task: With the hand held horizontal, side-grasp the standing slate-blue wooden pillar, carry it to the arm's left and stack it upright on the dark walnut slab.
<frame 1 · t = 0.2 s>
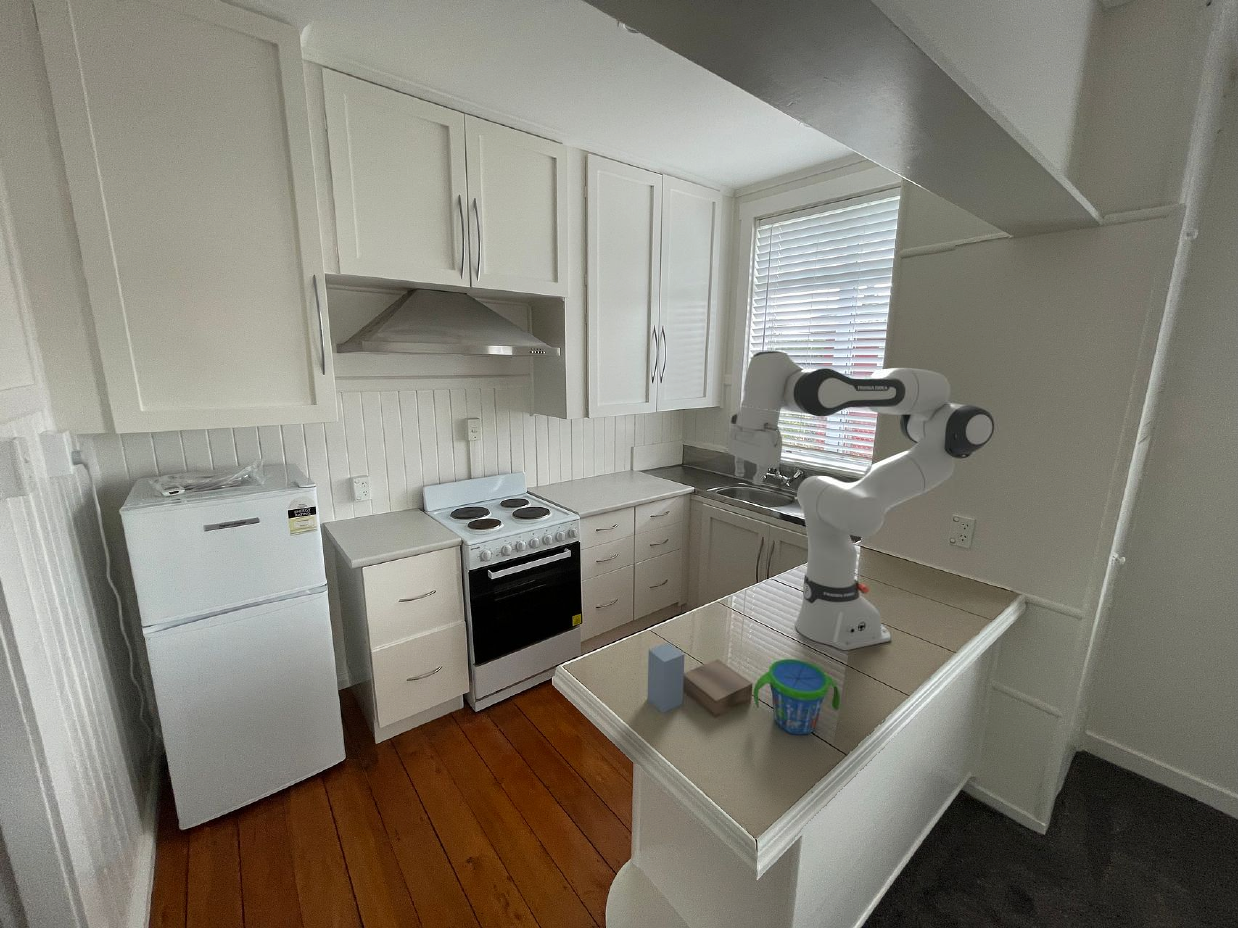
hand: (747, 480, 118), 40 cm above the counter, tool pointing down, fingers open, 8 cm apart
snack cup: (794, 723, 96), on the counter
walnut base: (715, 695, 104), on the counter
pillar: (664, 701, 101), on the counter
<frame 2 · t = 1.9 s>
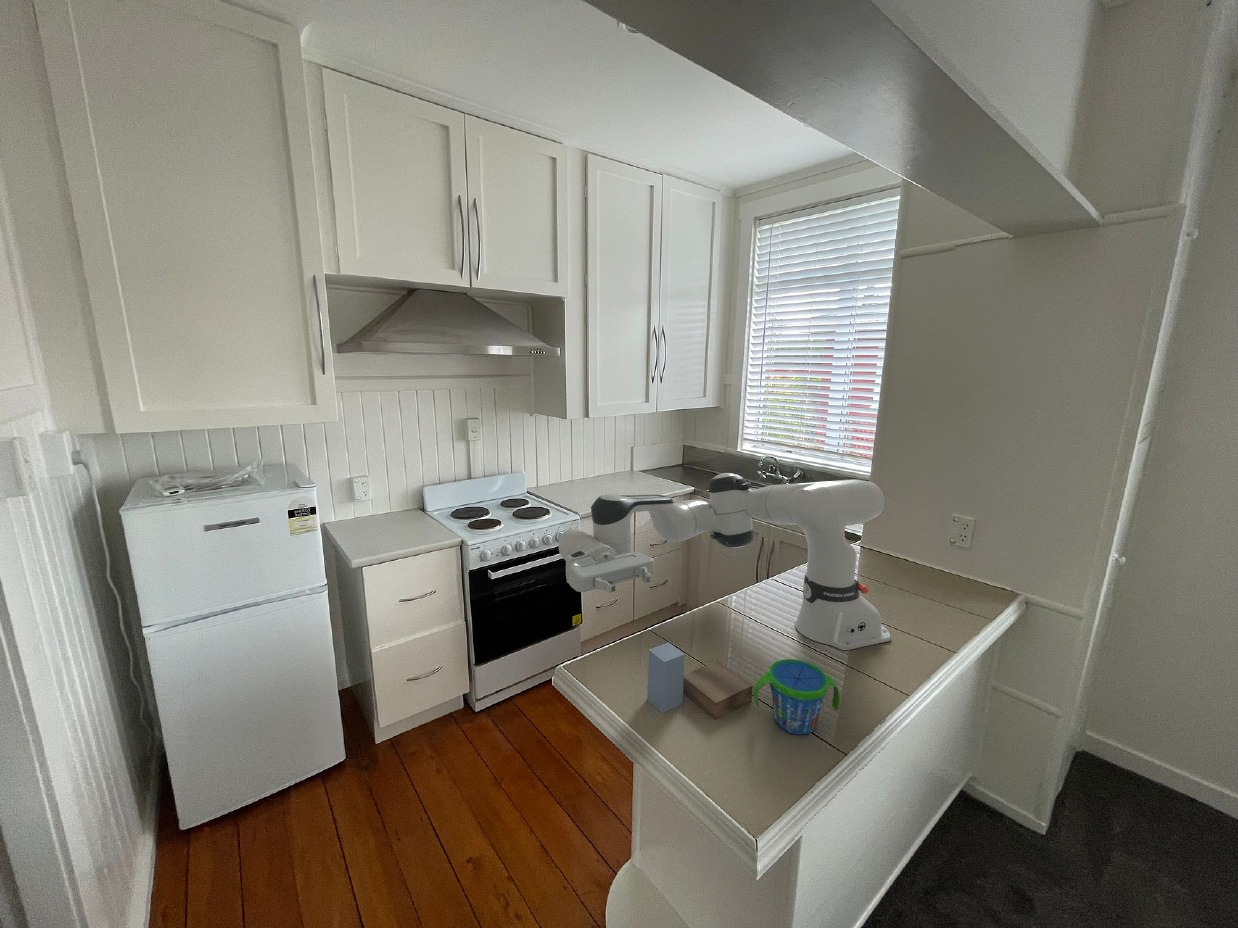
hand: (631, 583, 108), 20 cm above the counter, tool horizontal, fingers open, 8 cm apart
nothing on the counter moved.
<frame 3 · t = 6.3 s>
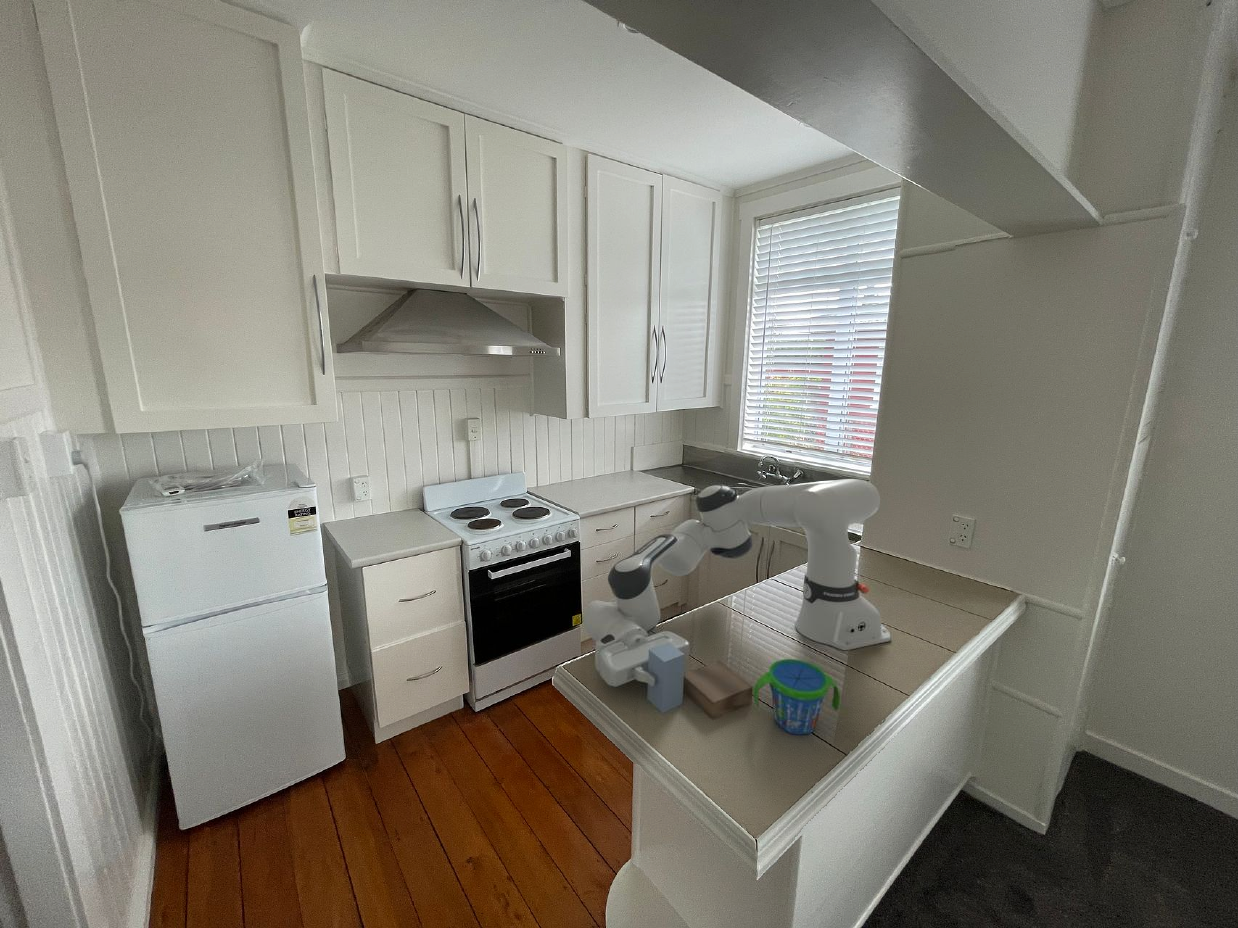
hand: (668, 676, 99), 6 cm above the counter, tool horizontal, fingers closed on pillar, 5 cm apart
pillar: (664, 701, 101), on the counter, touching gripper
everything else where it was.
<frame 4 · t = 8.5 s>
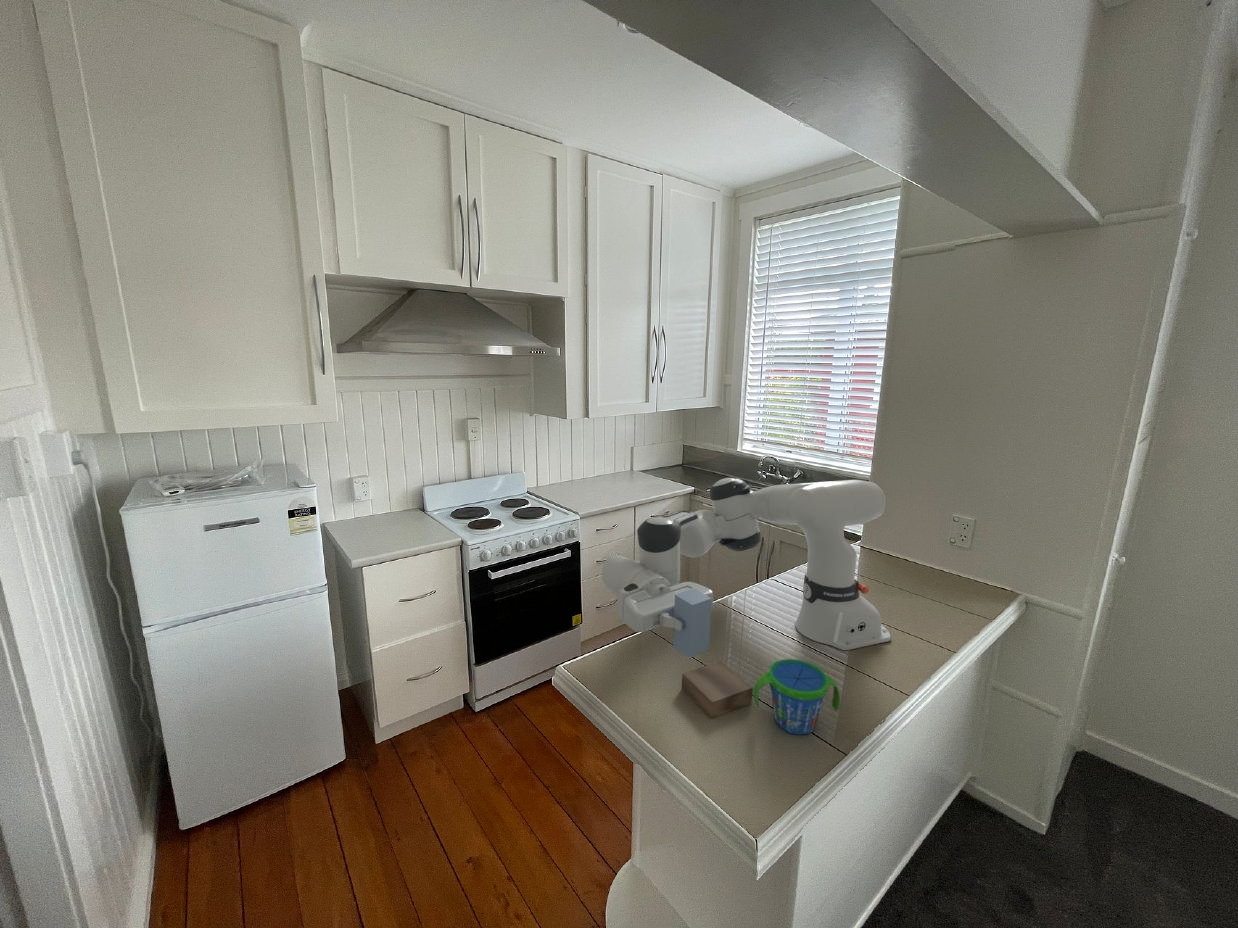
hand: (695, 621, 98), 18 cm above the counter, tool horizontal, fingers closed on pillar, 5 cm apart
pillar: (690, 647, 100), point 11 cm above the counter, touching gripper
everything else where it was.
when the fingers open (11 cm above the counter, at t = 10.6 s): pillar drops 2 cm, resting on walnut base.
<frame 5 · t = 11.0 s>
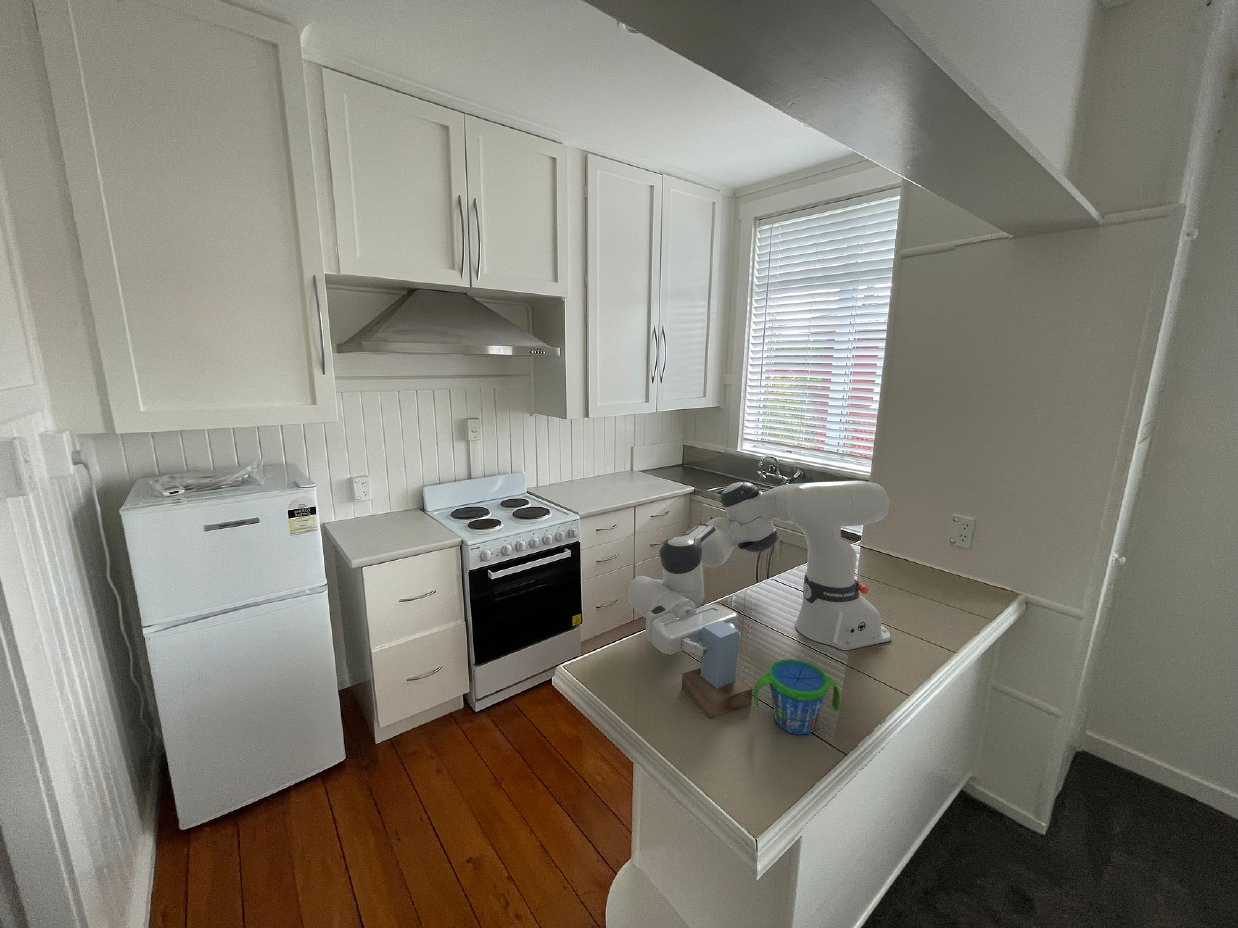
hand: (721, 645, 101), 11 cm above the counter, tool horizontal, fingers open, 8 cm apart
walnut base: (715, 698, 103), on the counter, touching pillar
pillar: (717, 678, 103), point 4 cm above the counter, touching walnut base
everything else where it was.
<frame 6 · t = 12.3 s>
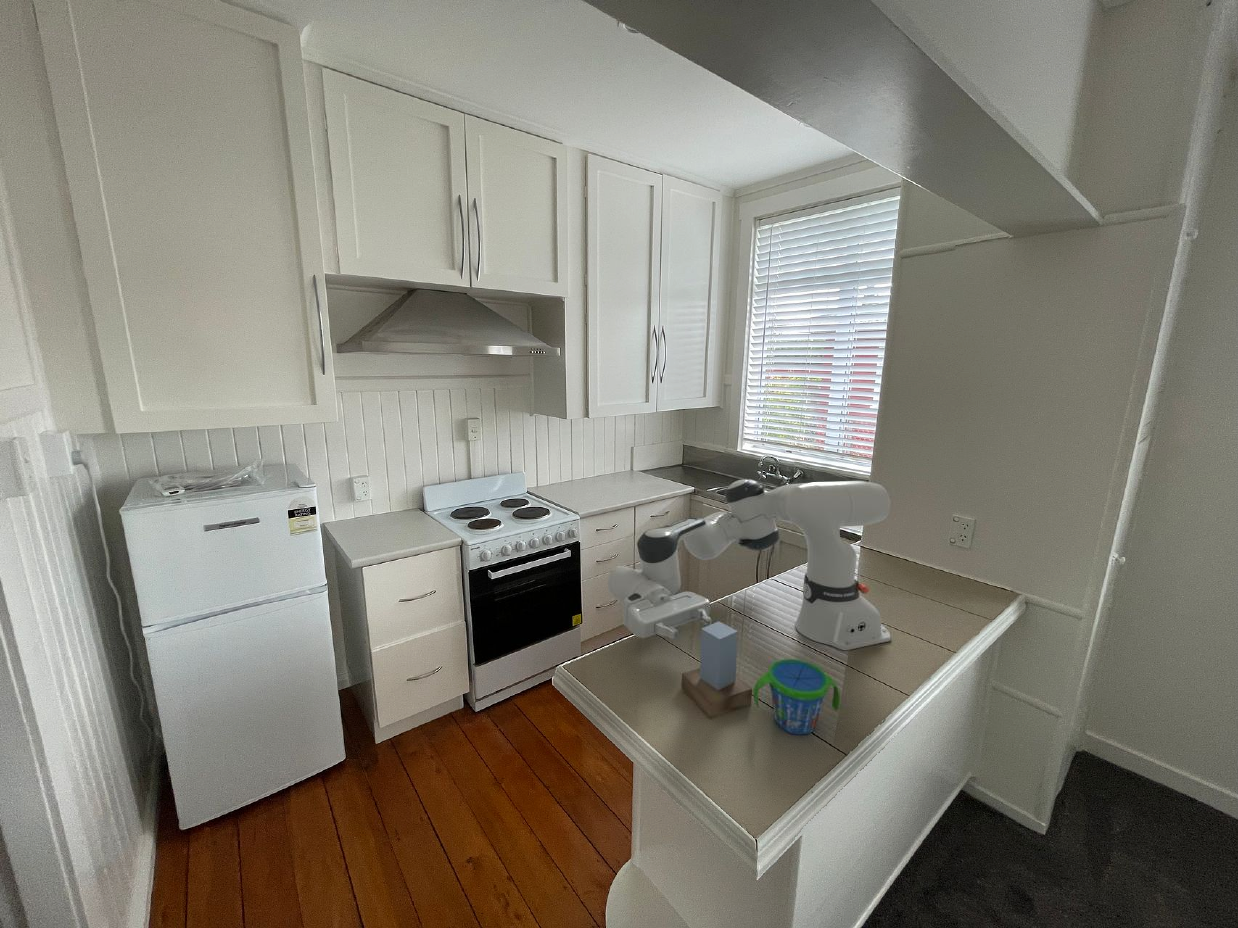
hand: (692, 629, 107), 11 cm above the counter, tool horizontal, fingers open, 8 cm apart
nothing on the counter moved.
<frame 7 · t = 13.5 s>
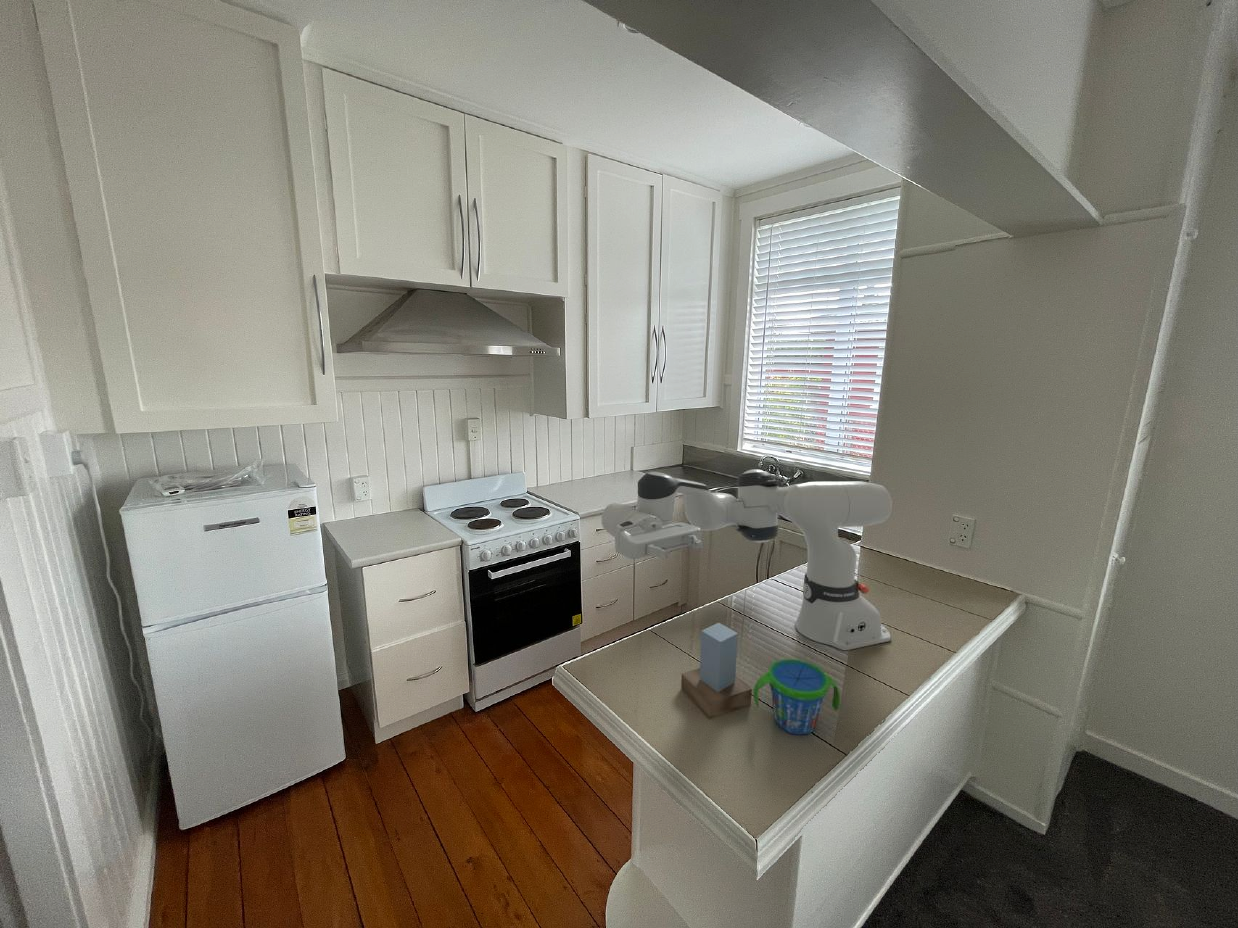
hand: (683, 550, 109), 27 cm above the counter, tool horizontal, fingers open, 8 cm apart
walnut base: (715, 698, 103), on the counter
pillar: (717, 680, 102), point 4 cm above the counter
everything else where it was.
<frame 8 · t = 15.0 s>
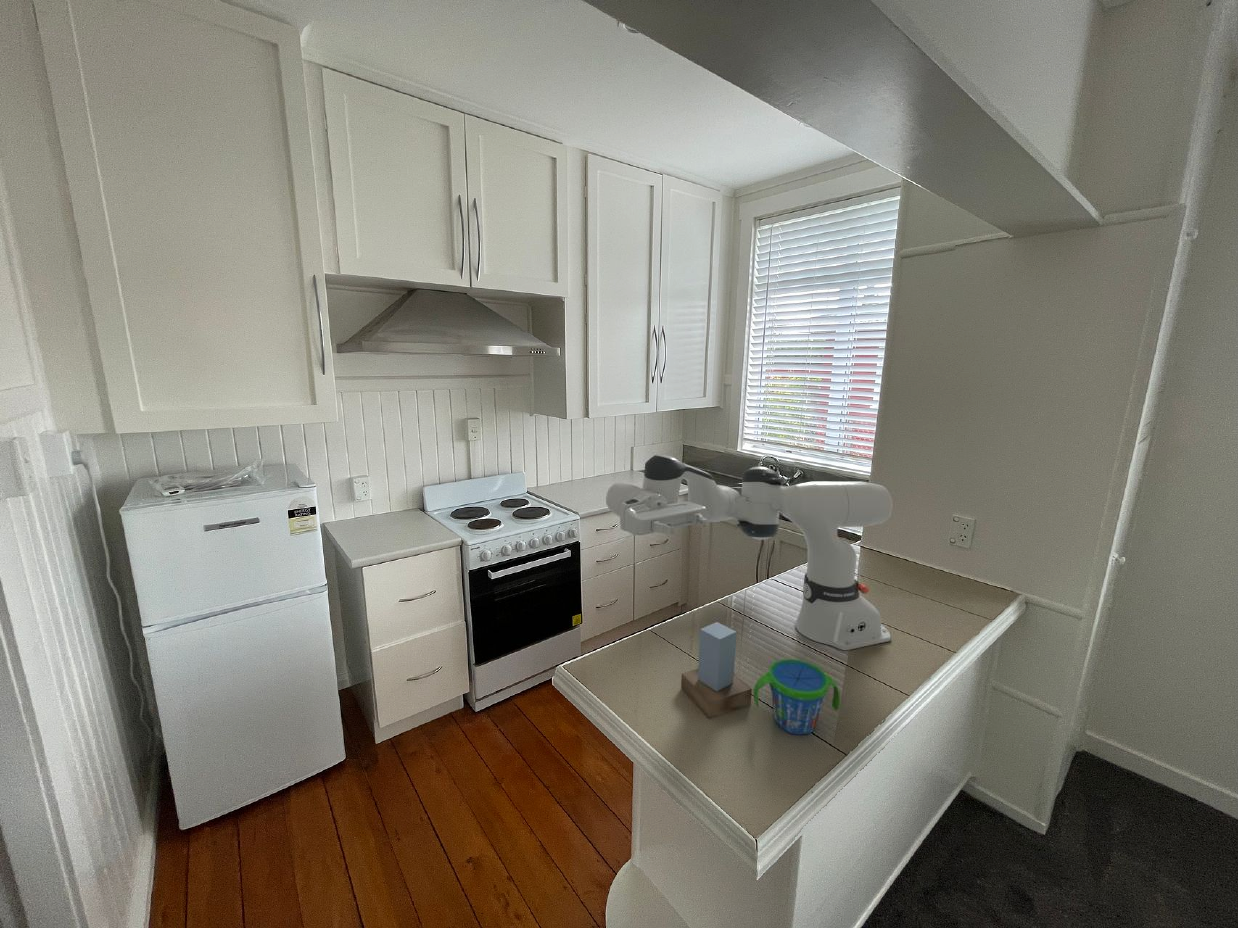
hand: (688, 527, 109), 32 cm above the counter, tool horizontal, fingers open, 8 cm apart
nothing on the counter moved.
at the end: pillar inside the target area on the walnut base (0.2 cm from its centre), point 4.1 cm above the walnut base's base; pillar tilted 2°; the gripper is holding nothing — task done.
